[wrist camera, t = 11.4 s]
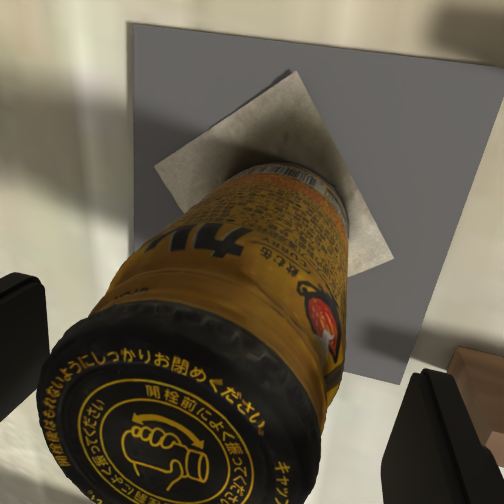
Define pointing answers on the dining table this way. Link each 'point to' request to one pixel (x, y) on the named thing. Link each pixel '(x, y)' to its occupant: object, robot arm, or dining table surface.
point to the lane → (482, 395)
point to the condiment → (220, 323)
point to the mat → (349, 146)
